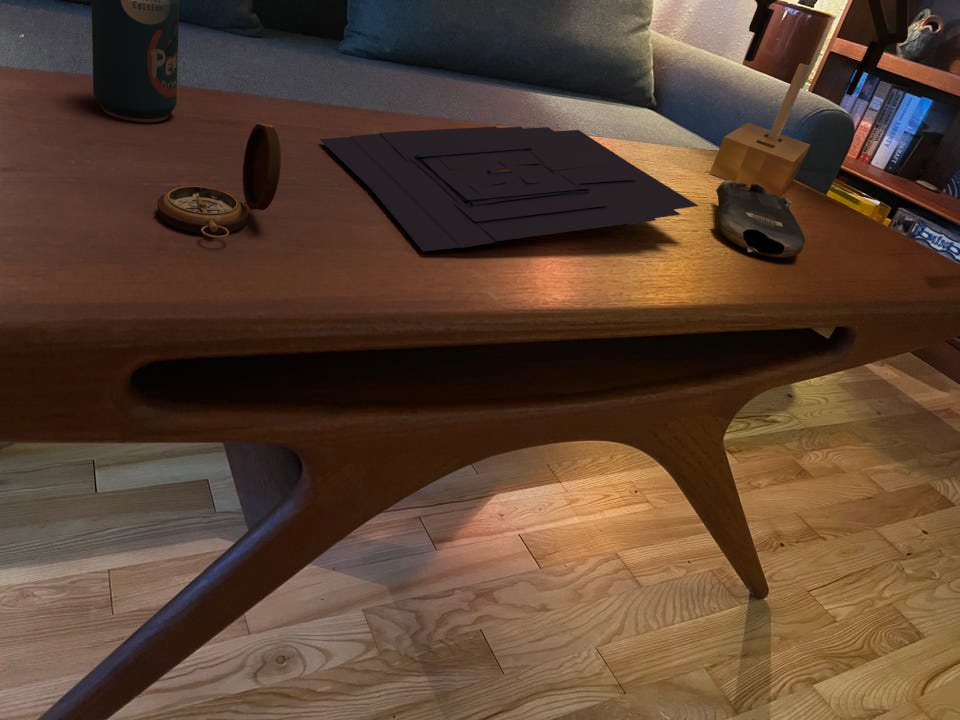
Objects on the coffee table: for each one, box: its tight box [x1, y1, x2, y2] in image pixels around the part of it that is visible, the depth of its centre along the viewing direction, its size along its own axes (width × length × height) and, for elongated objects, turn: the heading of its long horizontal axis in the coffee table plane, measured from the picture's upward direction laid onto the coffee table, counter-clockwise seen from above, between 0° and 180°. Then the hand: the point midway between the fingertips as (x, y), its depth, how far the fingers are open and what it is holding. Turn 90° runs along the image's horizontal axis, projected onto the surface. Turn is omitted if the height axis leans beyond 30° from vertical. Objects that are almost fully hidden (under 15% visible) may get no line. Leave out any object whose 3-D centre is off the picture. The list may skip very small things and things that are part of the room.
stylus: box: [767, 62, 811, 141], centre depth 106 cm, size 1×1×15 cm
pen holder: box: [709, 122, 811, 197], centre depth 106 cm, size 9×15×5 cm, turn 151°
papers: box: [318, 126, 699, 252], centre depth 75 cm, size 24×30×4 cm
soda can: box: [90, 0, 180, 123], centre depth 69 cm, size 7×7×12 cm
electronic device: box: [715, 180, 806, 259], centre depth 84 cm, size 9×6×15 cm
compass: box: [154, 122, 282, 239], centre depth 55 cm, size 8×8×7 cm
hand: (798, 77), depth 103 cm, fingers open, 13 cm apart
